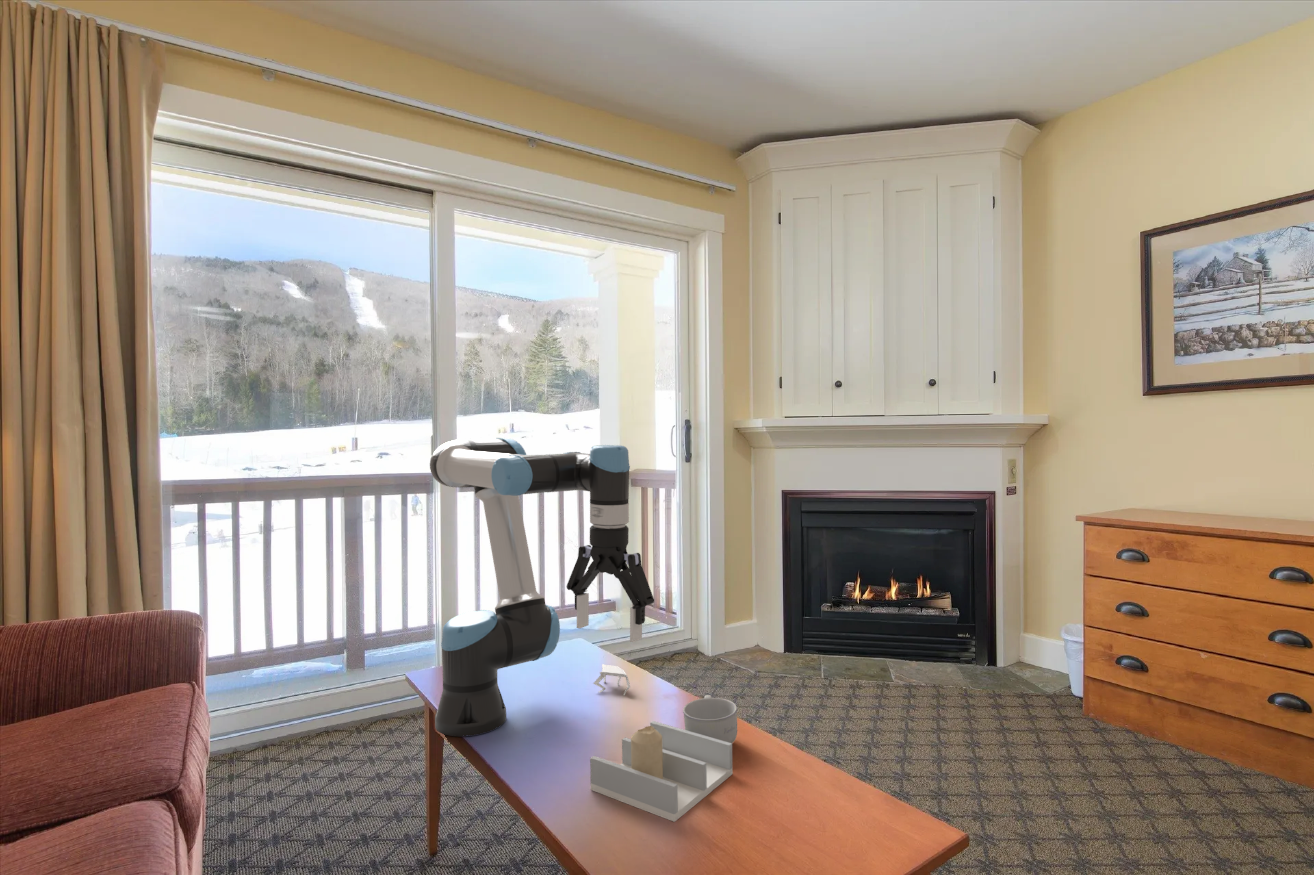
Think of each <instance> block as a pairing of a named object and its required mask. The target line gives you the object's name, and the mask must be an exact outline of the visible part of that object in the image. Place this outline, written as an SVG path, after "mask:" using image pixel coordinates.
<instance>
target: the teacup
mask: <svg viewBox="0 0 1314 875" xmlns="http://www.w3.org/2000/svg"><path fill="white" fill-rule="evenodd" d="M737 712H738V706H737V705H736V703H734V702H733V701H731V700H728V699H725V698H719V697H713V696H712V695H710V694H706V695H704V697H703V698H698V699H695V700H692V701H690V702H688V703H687V704H686V705H684V706H683V707H682V713H683V720H684V730H687V731H690V732H694V733H697V734H701V735H704V736H708V737H711V738H715V739H718V740H722V741H725V742H729V743H732V744H734V742H735V741H736V738H737V735H738V715H737Z"/></svg>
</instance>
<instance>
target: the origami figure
mask: <svg viewBox="0 0 1314 875" xmlns="http://www.w3.org/2000/svg"><path fill="white" fill-rule="evenodd" d="M601 668H602V669H601V671H599V674H600V676H598V677H597V678H596V680H595V681H594V682H593V683H592V684H593V685H595V686H597V687H599V688H600V689H601V690H599V691H598V693H602V692H603V691H605V690H607V688H606V687H605V686H603V685H602V684H600V682H601V681H602V680H603V683H604V684H606V683H607V682H606V678H607V676H611V677H618V679H617V683H616V684H617V686H620V681H621V678H625V681H626V685H627V687H626V689H625V690H624V692H623V694H622V696H625V695H626V694H627V691H629V689H630V688H631V684H630V680H629V677H628V674H627V673H626V672H625V670H624V669H623V668H621V667H619V666H618V665H610V664H609V665H608V664H604V663H602V664H601Z"/></svg>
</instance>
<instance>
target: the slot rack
mask: <svg viewBox="0 0 1314 875" xmlns="http://www.w3.org/2000/svg"><path fill="white" fill-rule="evenodd" d="M649 726H653V727H654V729H656V730H657V731H658V732H659V733H660V734H661V735H662V752H663V779H660V778H657V777H654V776H651V775H648V774H646V773H643V772H640V771H637V770H634V769H631V738H628V737H623V738H622V739H621V755H622V756H621V760H622V763H620V764H619V763H616V762H614V761H610V760H608V759H605V758H602V757H600V756H599V757H598V756H596V755H593V756H591V757H590V758H589V759H590V760H589V762H590V790H591V791H593V792H595V793H598V794H600V795H604V796H605V797H608V798H612V799H614V800H616V801H619V802H622V803H623V804H628V805H629V806H632V807H635V808H637V809H639V810H642V811H645V812H647V813H650V814H653V815H656V816H658V817H660V818H663V819H666V820H669V821H671V822H674V823H675V822H677V821H678V819H680V818H681V817H682V816H684V815H685V814H686V813H688V812H689V811H690V810H691V809H692V808H693V807H694V806H696V805H697V804H698V803H699V802H701V801H702V800H703V799H704V798H706V797H707V796H708V795H709V794H710V793H711V792H713V791H715V789H716V788H718V787H719V786H720V785H721V784H722V783H724V782H725V781H726V780H727V779H728V778H729V777H731V776H732V775H733V743H729V742H725V741H722V740H718V739H715V738H711V737H708V736H704V735H701V734H697V733H694V732H690V731H687V730H685V729H683V728H679V727H676V726H673V725H670V724H665V723H662V722H659V721H656V720H652V721H650V722H649Z"/></svg>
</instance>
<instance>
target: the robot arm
mask: <svg viewBox="0 0 1314 875" xmlns="http://www.w3.org/2000/svg"><path fill="white" fill-rule="evenodd" d="M630 467H631V465H630V458H629V450H628V448H627V447H626V446H624V445H620V444H619V445H618V444H617V445H616V444H614V445H613V444H601V445H600V444H599V445H593V446H592V447H591V448H590V451H589V453H585V452H580V451H569V452H563V453H552V454H551V453H549V454H527V453H526V450H525V449H524V447H523V446H522V444H520V443H519V442H518V441H517V440H515V439H513V438H502V437H496V438H469V439H466V438H464V439H463V438H461V439H454V440H451V441H450V440H449V441H447V442H445V443H443V444H441V445H440V446H438V447H437V448H436V449H435V450H434V451H433V453H432V455H431V458H430V461H429V470H430V472H431V475H432V477H433V478H434V480H435V481H437V482H438V483H439V484H440V485H443V486H444V487H450V488H459V489H460V488H462V489H463V488H473V489H474V494H475V498H477V499H478V500H480V501H481V502H482V503H483V510H484V514H485V520H486V526H487V534H488V538H489V544H490V549H491V556H492V560H493V566H494V574H495V578H496V584H497V589H498V594H499V601H498V603H497V604H496V606H495V607H494V611H492V610H487V609H481V610H477V611H476V610H472V611H467V612H463V613H461V614H457V615H456V616H454V617H452V618H450V619H449V620H448V621H447V622H446V623H445V624H444V625H443V628H442V635H441V637H442V638H441V642H440V643H441V644H440V646H441V654H442V655H441V656H442V657H441V658H442V660H441V661H442V693H441V697H440V700H439V704H438V706H437V707H438V708H437V710H436V713H435V715H434V716H435V717H434V727H435V730H436V731H437V732H438V733H440V734H442V735H445V736H450V737H472V736H479V735H482V734H483V735H484V734H485V733H489V732H491V731H494V730H496V729H498V728H500V727H501V726H503V725H504V724H505V722H506V721H507V709H506V708H507V707H506V704H505V703H504V699H503V698H504V697H503V696H502V692H501V691H500V688H499V684H498V670H501V669H503V668H508V667H512V666H515V665H516V666H517V665H520V664H524V663H528V662H534V661H537V660H539V659H542V658H546V657H548V656H550V655H552V653H553V652H554V651H555V650H556V648H557V645H558V643H559V639H560V634H561V628H560V626H561V625H560V619H559V615H558V613H557V612H556V610H555V608H554V606H552V605H548V604H547V603H546V600H545V597H544V596H543V595H542V594H540V593H539V592H538V591H537V588H536V587H537V586H536V580H535V577H534V572H533V571H534V570H533V566H532V561H531V560H532V559H531V554H530V549H529V544H528V539H527V533H526V530H525V529H526V528H525V523H524V516H523V513H522V507H521V502H520V496H521V495H530V494H531V495H532V494H542V493H543V494H544V493H557V492H559V493H560V492H570V491H584V492H589V523H590V524H592V525H591V526H590V527H589V544H586V545H581V546H579V548H578V554H577V559H576V562H575V564H574V567H573V568H572V571H571V574H570V576H569V578H568V581H567V584H566V589H567V590H568V591H571V592H572V593H573V594H574V609H575V610H576V628H577V629H583V628H585V627H587V626H590V625H589V623H590V622H589V621H590V620H589V616H590V615H589V610H590V609H589V607H590V606H589V604H590V603H589V602H590V601H589V599H590V598H589V597H590V594H589V593H588V592H587V591H588V590H587V589H588V588H589V587H590V586H591V584H592V583H593V581H594V580H595V579H596V578H597V576H598V575H599V574H600V573H601V574H603V573H606V574H607V575H613V576H614V577H615V579H618V581H619V582H620V584H621V586H622V588H623V590H624V591H625V593H626V595H627V596H628V598H629V600H630V602H631V603H632V606H630V607H629V608H630V609H629V610H630V611H629V642H630V643H636V642H638V641H640V640H642V639H643V624H645V621H646V607H647V606H650V605H652V604H654V603H655V598H654V596H653V593H652V591H651V587H650V585H649V582H648V580H647V577H646V573H645V571H644V567H643V565H642V556H641V554H640V552H635V553H628V552H627V551H628V550H627V546H628V545H629V533H630V532H629V527H628V526H627V524H629V522H630V521H629V520H630V517H629V516H630V513H629V512H630V509H629V505H630V503H629V499H630V497H629V496H630V495H629V494H630V469H631V468H630ZM590 560H592V562H591V563H590V564H589V562H590ZM588 565H589V566H588Z"/></svg>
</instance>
